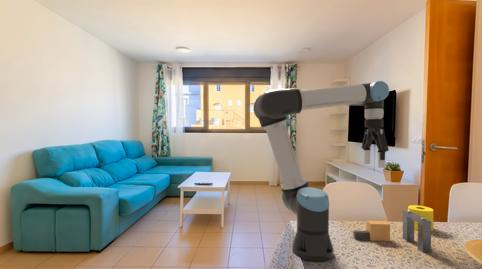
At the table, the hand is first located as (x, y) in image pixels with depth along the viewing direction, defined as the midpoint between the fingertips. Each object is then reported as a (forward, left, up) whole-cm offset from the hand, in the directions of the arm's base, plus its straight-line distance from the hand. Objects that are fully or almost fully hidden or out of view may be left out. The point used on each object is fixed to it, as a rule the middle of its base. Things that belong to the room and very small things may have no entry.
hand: (373, 165), depth 115 cm
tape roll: (+26, +8, -31) cm, 41 cm away
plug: (-4, -6, -31) cm, 32 cm away
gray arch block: (+11, -12, -31) cm, 35 cm away
